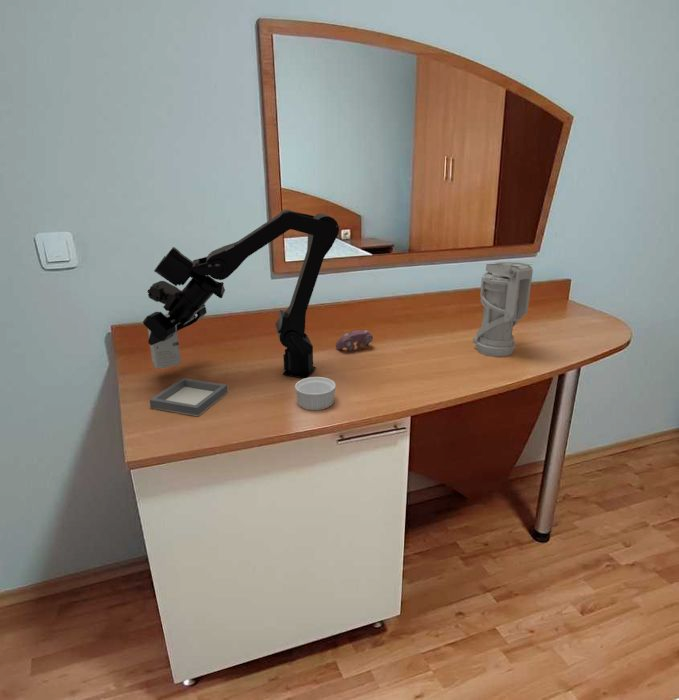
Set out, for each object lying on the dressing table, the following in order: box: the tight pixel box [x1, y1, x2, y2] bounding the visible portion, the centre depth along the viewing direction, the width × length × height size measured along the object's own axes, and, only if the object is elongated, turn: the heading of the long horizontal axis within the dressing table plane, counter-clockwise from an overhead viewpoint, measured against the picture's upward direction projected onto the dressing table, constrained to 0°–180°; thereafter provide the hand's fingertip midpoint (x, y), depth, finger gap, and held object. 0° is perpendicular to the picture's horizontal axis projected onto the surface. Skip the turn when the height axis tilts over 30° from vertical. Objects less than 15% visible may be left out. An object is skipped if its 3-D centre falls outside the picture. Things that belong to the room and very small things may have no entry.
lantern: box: [472, 261, 534, 358], centre depth 136 cm, size 13×10×25 cm
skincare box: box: [147, 313, 182, 370], centre depth 124 cm, size 6×4×12 cm
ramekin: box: [294, 376, 336, 411], centre depth 113 cm, size 9×9×4 cm
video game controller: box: [335, 329, 374, 352], centre depth 142 cm, size 10×5×7 cm, turn 115°
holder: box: [149, 377, 229, 417], centre depth 114 cm, size 12×12×2 cm
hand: (158, 338), depth 124 cm, fingers closed on skincare box, 7 cm apart
